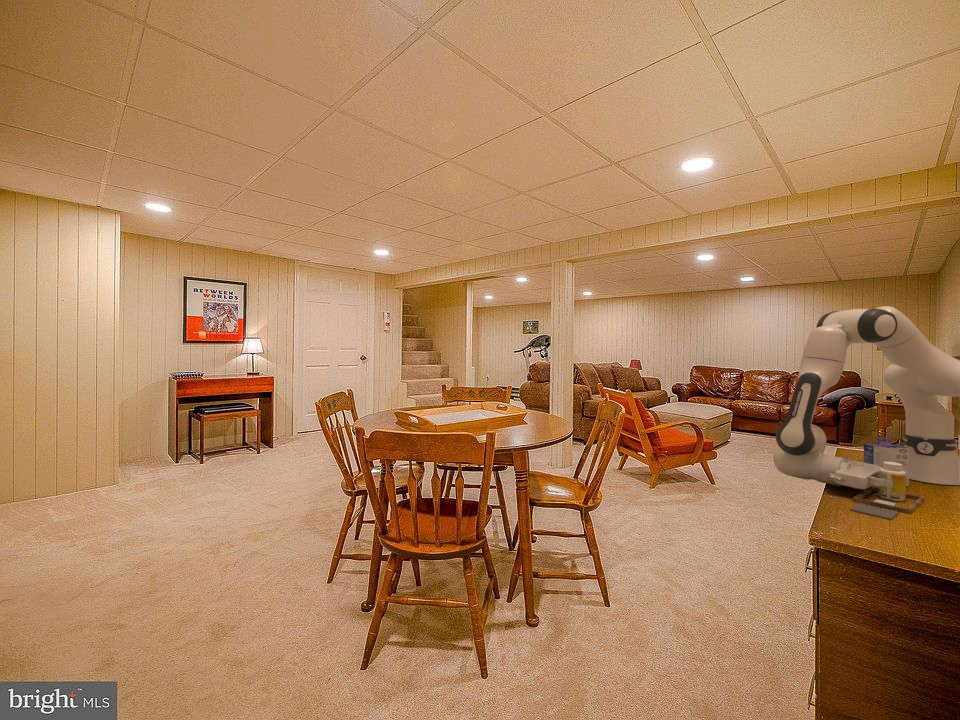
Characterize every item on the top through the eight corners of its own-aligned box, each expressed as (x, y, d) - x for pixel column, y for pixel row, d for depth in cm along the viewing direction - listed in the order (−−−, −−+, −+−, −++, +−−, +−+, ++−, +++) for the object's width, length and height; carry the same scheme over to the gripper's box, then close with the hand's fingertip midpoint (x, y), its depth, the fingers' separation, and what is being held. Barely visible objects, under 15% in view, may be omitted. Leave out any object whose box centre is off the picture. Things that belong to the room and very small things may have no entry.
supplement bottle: (909, 500, 122) (910, 464, 122) (899, 503, 120) (900, 466, 120) (884, 494, 127) (884, 459, 127) (874, 497, 125) (875, 461, 125)
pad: (859, 504, 119) (859, 502, 119) (898, 513, 112) (899, 511, 112) (850, 510, 114) (850, 508, 114) (891, 520, 108) (891, 518, 108)
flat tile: (876, 502, 122) (876, 499, 122) (895, 506, 119) (895, 503, 119) (872, 505, 119) (872, 502, 119) (892, 509, 116) (892, 506, 116)
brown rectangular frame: (870, 489, 131) (870, 486, 131) (924, 500, 122) (924, 497, 122) (852, 501, 121) (852, 497, 121) (910, 514, 112) (910, 510, 112)
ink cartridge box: (897, 481, 140) (898, 437, 140) (910, 486, 135) (911, 440, 135) (861, 479, 142) (862, 435, 142) (873, 484, 137) (874, 439, 137)
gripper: (824, 465, 128) (887, 476, 117) (846, 456, 140) (905, 465, 129) (823, 487, 128) (886, 500, 117) (845, 475, 140) (904, 486, 129)
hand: (896, 481), depth 123 cm, fingers closed on supplement bottle, 5 cm apart
